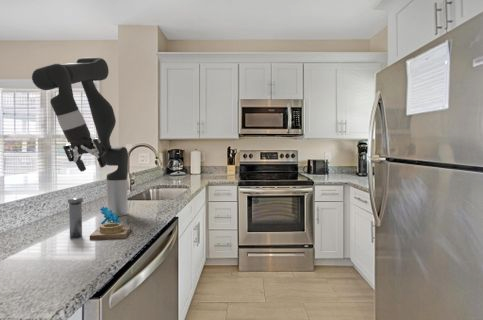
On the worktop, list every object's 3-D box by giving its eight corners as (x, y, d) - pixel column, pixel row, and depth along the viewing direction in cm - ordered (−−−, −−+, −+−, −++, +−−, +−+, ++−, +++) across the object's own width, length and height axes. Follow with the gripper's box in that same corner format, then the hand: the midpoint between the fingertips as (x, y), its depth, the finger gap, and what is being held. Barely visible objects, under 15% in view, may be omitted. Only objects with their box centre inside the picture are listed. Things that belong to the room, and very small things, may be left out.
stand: (98, 231, 122) (98, 222, 122) (130, 229, 124) (130, 220, 124) (89, 239, 110) (89, 230, 110) (125, 238, 112) (125, 228, 112)
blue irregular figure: (115, 223, 128) (98, 205, 129) (104, 233, 127) (88, 216, 128) (125, 220, 139) (110, 204, 140) (115, 230, 138) (100, 214, 139)
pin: (71, 235, 116) (70, 197, 115) (85, 234, 116) (84, 197, 116) (66, 239, 111) (65, 200, 110) (81, 238, 112) (80, 199, 111)
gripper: (97, 118, 107) (116, 161, 112) (64, 126, 110) (83, 167, 116) (84, 124, 100) (104, 169, 106) (48, 133, 104) (70, 176, 109)
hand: (93, 168), depth 111 cm, fingers open, 8 cm apart
